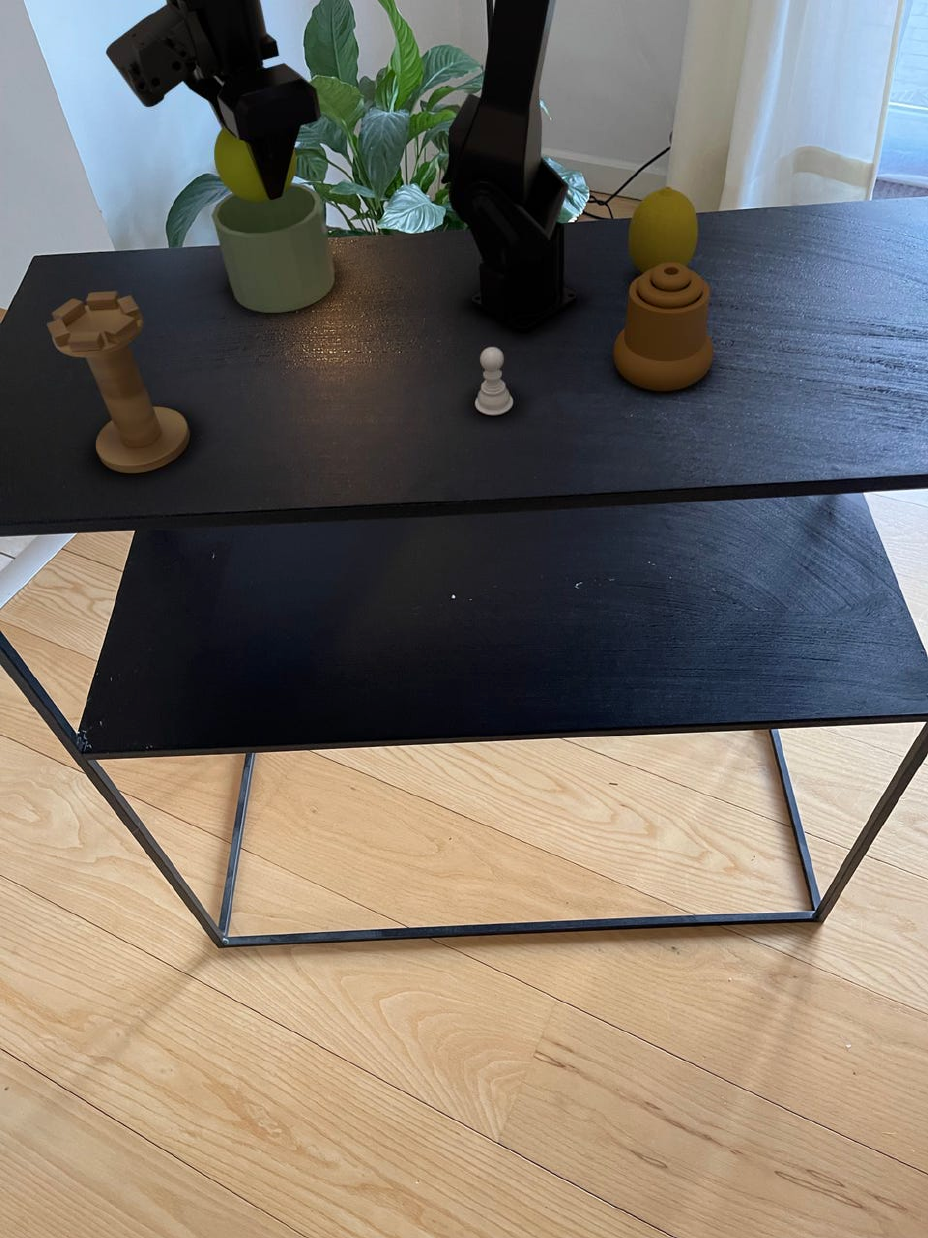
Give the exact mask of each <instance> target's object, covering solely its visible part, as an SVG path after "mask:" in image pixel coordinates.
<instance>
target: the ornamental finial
mask: <svg viewBox="0 0 928 1238" xmlns="http://www.w3.org/2000/svg"><path fill="white" fill-rule="evenodd" d="M628 289H629V291H628V299H627V307H626V314H625V315H626V316H625V324H624V328H622V330H621V331H620V332H619V333H618V335H617V337H616V339H615V341H614V344H613V348H612V349H613V350H612V357H613V362H614V366H615V367H616V369H617V371H618V372H619V373H620V375H621V376H622V377H623V378H624V379H625V380H626V381H627V382H630V384H632V385H634V386H637V387H639V388H641V389H645V390H649V391H654V392H672V391H673V392H674V391H678V390H682V389H685V388H687V387H690V386H693V385H694V384H696V383H697V382H699V381H700V380H701V379H703V377H704V376H705V375H706V374H707V373H708V371H709V370H710V368H711V367H712V364H713V360H714V355H715V351H714V349H715V348H714V343H713V340H712V338H711V337H710V335H709V333H708V332H707V329H708V328H707V327H708V317H709V307H710V306H709V304H710V295H711V289H710V286H709V285H708V283H707V282H706V280H704V279H703V278H702V277H701V276H700V275H699V274H698V273H697V272H695V271H694V270H692V269H690V268H688V267H687V265H686V266H684V265H682V264H679V263H674V262H668V263H663V264H660V265H658V266H656V267H655V268H652V269H650V270H648V271H646V272H645V273H641V275H639V276H638V277H637V278H635V279H634V280H633V281H632V282H631V284H630V286H629V288H628Z"/></svg>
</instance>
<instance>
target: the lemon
mask: <svg viewBox="0 0 928 1238" xmlns="http://www.w3.org/2000/svg"><path fill="white" fill-rule="evenodd" d="M628 229H629V230H628V239H627V240H628V244H627V245H628V252H629V256H630V258H631V261H632V263H633V265H634V266H635V268H636V269H637V270H638V271H640V273H641V274H643V273H645V272H646V271H648V270H650V269H652V268H655V267H656V266H658V265H660V264H663V263H668V262H674V263H679V264H682V265H684V266H686V267H687V266H688V264H689V263H690V262H691V260H692V258H693V256H694V255H695V254H694V253H695V252H696V251H695V250H696V246H697V243H698V237H699V221H698V216H697V211H696V209H695V206H694V204H693V203H692V201H691V199H689V198H688V196H686V195H685V194H684V193H683V192H680V191H679V190H677V189H673V188H672V187H671V186H664V187H662V188H661V189H657V190H655V191H652V192H650V193H649V194H648V195H646V196H645V197H643V198H642V200H640V202H639V203H638V204H637V206H636V208H635V209H634V212H633V214H632V217H631V219H630V224H629V228H628Z"/></svg>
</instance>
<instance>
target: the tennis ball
mask: <svg viewBox="0 0 928 1238" xmlns="http://www.w3.org/2000/svg"><path fill="white" fill-rule="evenodd" d="M215 139H216V140H215V142H214V148H213V161H214V165H215V169H216V173H217V174H218V176H219V178H220V180H221V182H222V183H223V184H224V186H225V187H226V188H227V189H228V190H229V191H230V192H231V193H234V194H235V195H236V196H238V197H240V198H242V199H244V200H247V201H251V202H267V201H270V199H269V198H268V197H267V195H266V192H265V190H264V188H263V185H262V183H261V181H260V178H259V176H258V173H257V171H256V168H255V166H254V163H253V161H252V158H251V156H250V153H249V151H248V148H247V146H246V143H245V141H243V140H239V139H238V138H236V137H234V136H233V135H231V134H230V133H229V131H228V130H227V129H226V128H225V127H223V128H220V131H219V132H218V134H217V136H216V138H215ZM296 170H297V153H296V149H295V148H294V150H293V155H292V158H291V162H290V166H289V170H288V175H287V179H286V183H285V187H284V191H283V193H284V192H285V191H286V190H287V188H288V187H289V186H290V184H291V182H292V183H293V180H294V178H295V174H296Z"/></svg>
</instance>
